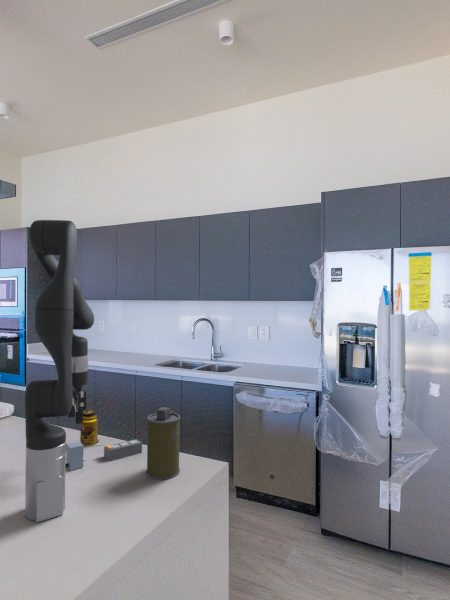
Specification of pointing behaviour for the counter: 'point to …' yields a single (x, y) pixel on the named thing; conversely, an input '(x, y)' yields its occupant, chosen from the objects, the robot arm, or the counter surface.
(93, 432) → the condiment
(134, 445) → the strip
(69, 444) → the block
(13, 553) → the counter surface
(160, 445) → the canister
